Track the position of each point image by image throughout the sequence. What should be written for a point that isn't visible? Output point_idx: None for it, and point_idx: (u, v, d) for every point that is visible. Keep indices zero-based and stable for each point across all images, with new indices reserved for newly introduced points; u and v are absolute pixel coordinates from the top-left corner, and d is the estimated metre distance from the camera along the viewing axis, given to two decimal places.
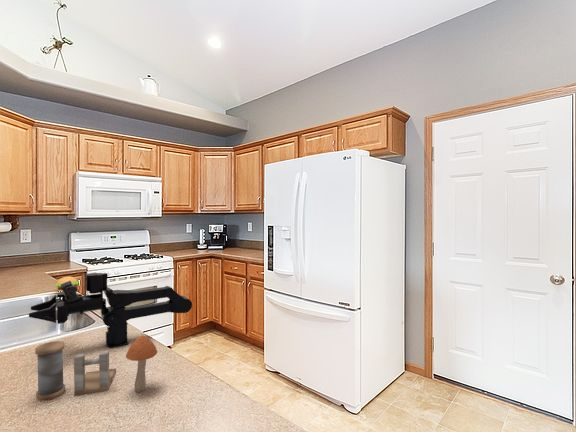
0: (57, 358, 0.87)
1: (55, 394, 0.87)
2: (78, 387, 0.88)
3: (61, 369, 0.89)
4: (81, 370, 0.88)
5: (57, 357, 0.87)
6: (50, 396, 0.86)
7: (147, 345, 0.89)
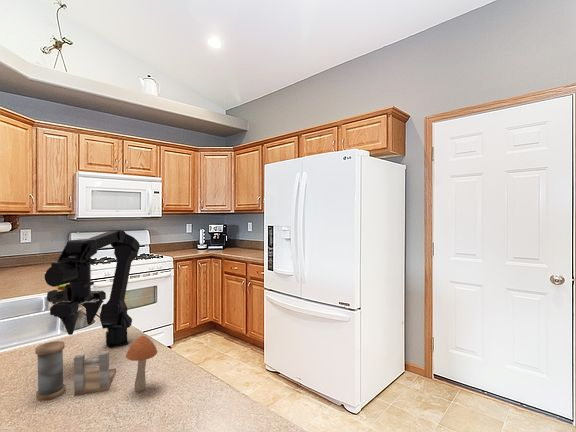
0: (57, 358, 0.87)
1: (55, 394, 0.87)
2: (78, 387, 0.88)
3: (61, 369, 0.89)
4: (81, 370, 0.88)
5: (57, 357, 0.87)
6: (50, 396, 0.86)
7: (147, 345, 0.89)
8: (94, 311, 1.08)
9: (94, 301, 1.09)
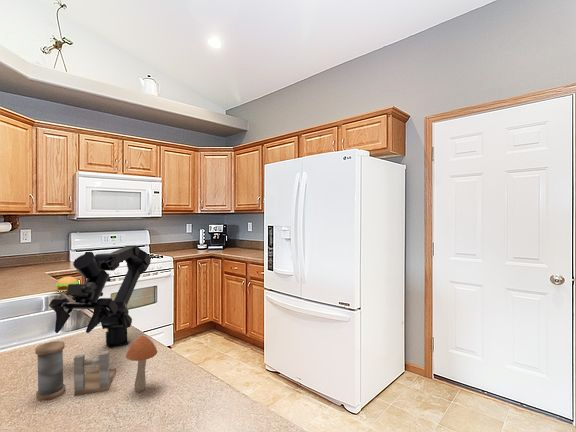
0: (57, 358, 0.87)
1: (55, 394, 0.87)
2: (78, 387, 0.88)
3: (61, 369, 0.89)
4: (81, 370, 0.88)
5: (57, 357, 0.87)
6: (50, 396, 0.86)
7: (147, 345, 0.89)
8: (65, 321, 1.01)
9: (66, 311, 1.03)
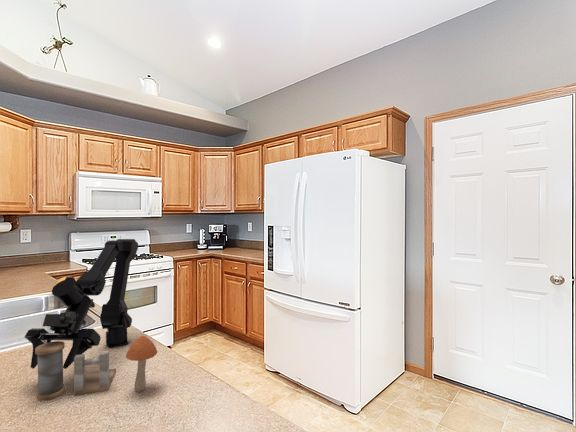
0: (57, 358, 0.87)
1: (55, 394, 0.87)
2: (78, 387, 0.88)
3: (61, 369, 0.89)
4: (81, 370, 0.88)
5: (57, 357, 0.87)
6: (50, 396, 0.86)
7: (147, 345, 0.89)
8: None
9: (44, 343, 0.94)
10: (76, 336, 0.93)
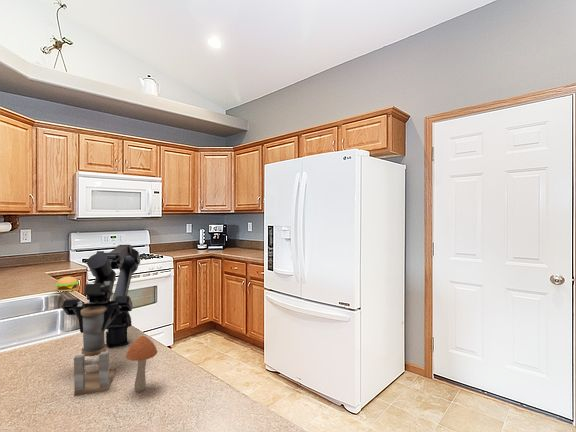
0: (101, 318, 0.98)
1: (101, 350, 0.98)
2: (78, 387, 0.88)
3: None
4: (81, 370, 0.88)
5: (101, 318, 0.98)
6: (97, 352, 0.97)
7: (147, 345, 0.89)
8: None
9: None
10: (106, 304, 1.03)
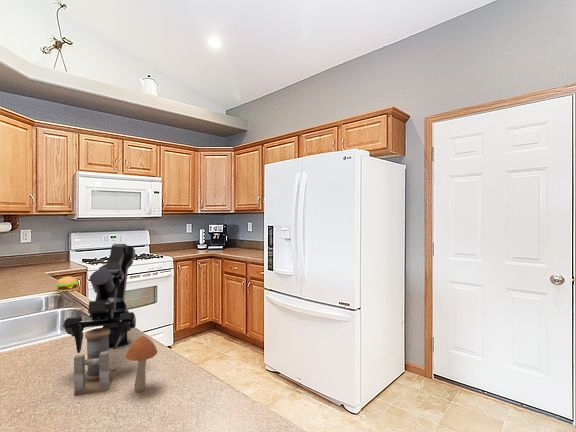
0: (107, 341, 0.96)
1: None
2: (78, 387, 0.88)
3: None
4: (81, 370, 0.88)
5: (106, 341, 0.96)
6: None
7: (147, 345, 0.89)
8: (81, 340, 0.97)
9: None
10: (116, 320, 1.01)
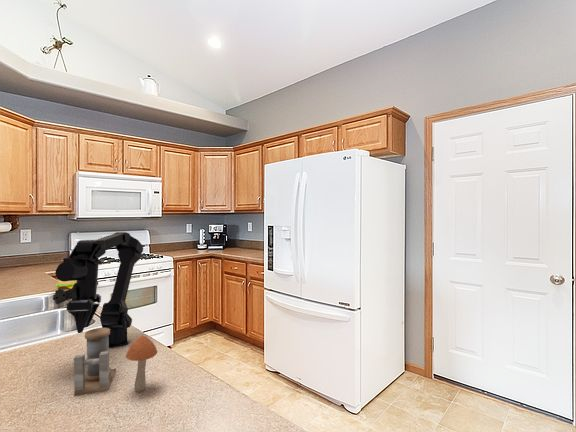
0: (106, 341, 0.96)
1: None
2: (78, 387, 0.88)
3: None
4: (81, 370, 0.88)
5: (106, 341, 0.96)
6: None
7: (147, 345, 0.89)
8: (92, 313, 1.09)
9: (92, 303, 1.10)
10: None
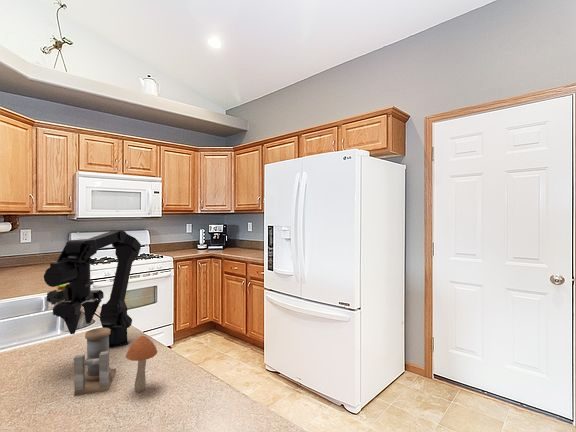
0: (107, 341, 0.96)
1: None
2: (78, 387, 0.88)
3: None
4: (81, 370, 0.88)
5: (107, 341, 0.96)
6: None
7: (147, 345, 0.89)
8: (93, 310, 1.09)
9: (92, 300, 1.10)
10: None
